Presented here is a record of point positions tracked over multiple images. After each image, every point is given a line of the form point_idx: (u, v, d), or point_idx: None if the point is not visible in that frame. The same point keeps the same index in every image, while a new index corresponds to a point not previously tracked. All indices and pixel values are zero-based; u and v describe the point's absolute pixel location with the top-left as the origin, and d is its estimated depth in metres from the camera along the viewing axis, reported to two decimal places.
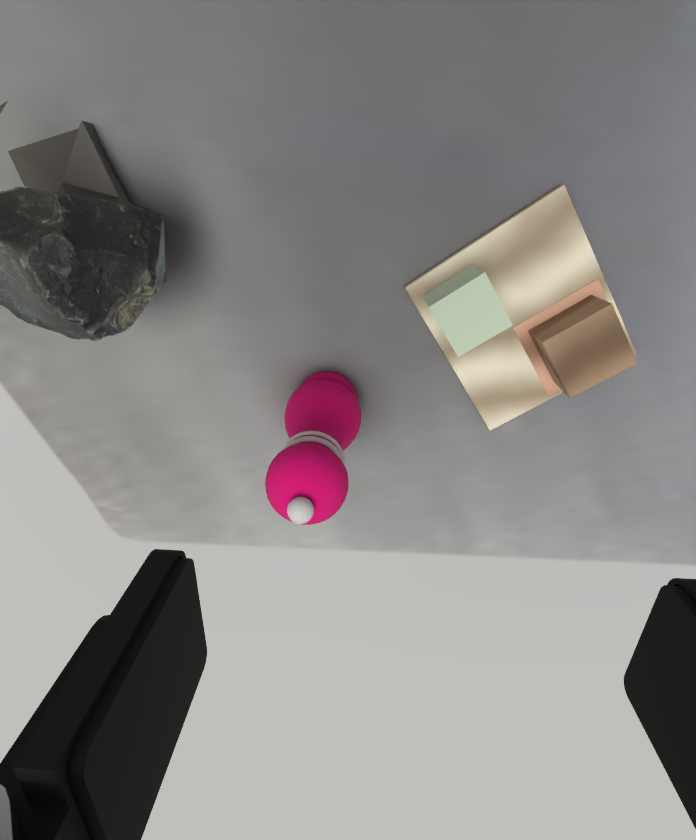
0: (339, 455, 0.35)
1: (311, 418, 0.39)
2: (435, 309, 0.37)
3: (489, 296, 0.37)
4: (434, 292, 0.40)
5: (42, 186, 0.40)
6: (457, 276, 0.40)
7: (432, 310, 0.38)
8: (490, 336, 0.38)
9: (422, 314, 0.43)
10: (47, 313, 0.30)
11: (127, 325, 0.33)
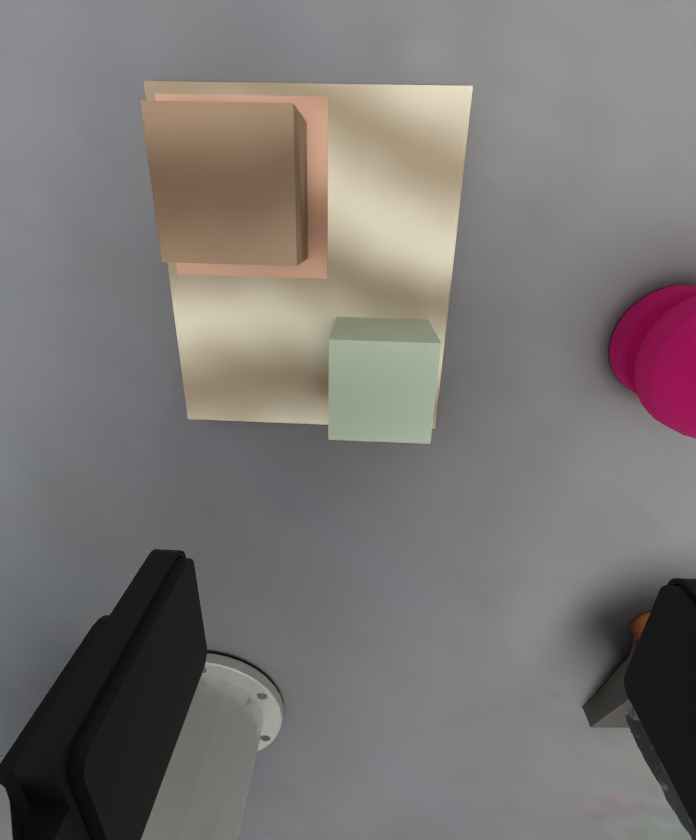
0: None
1: None
2: (423, 435, 0.22)
3: (341, 404, 0.22)
4: None
5: None
6: None
7: (428, 436, 0.22)
8: (371, 344, 0.21)
9: (437, 382, 0.26)
10: None
11: None
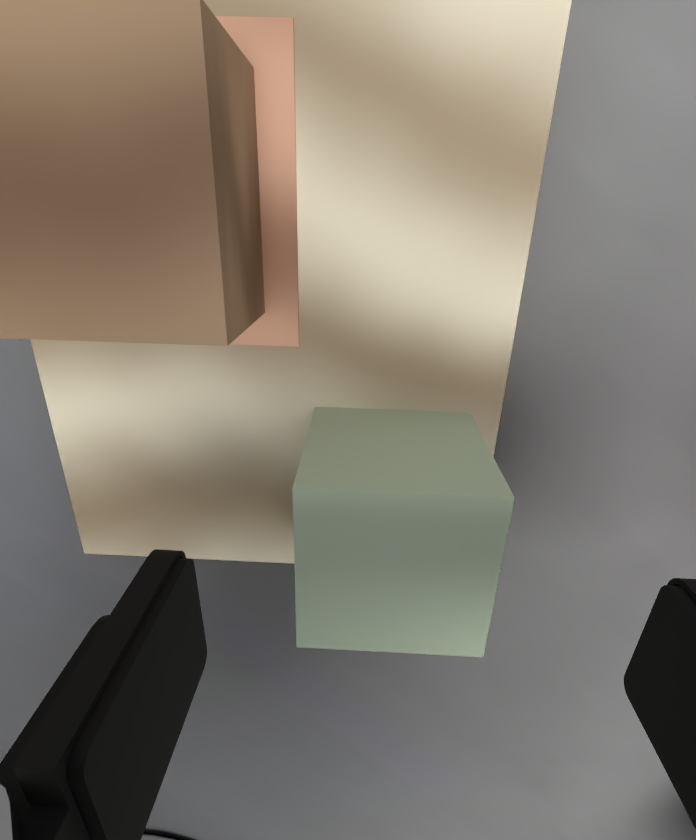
0: None
1: None
2: (471, 645, 0.12)
3: (318, 594, 0.12)
4: None
5: None
6: None
7: (480, 646, 0.12)
8: (377, 497, 0.10)
9: None
10: None
11: None
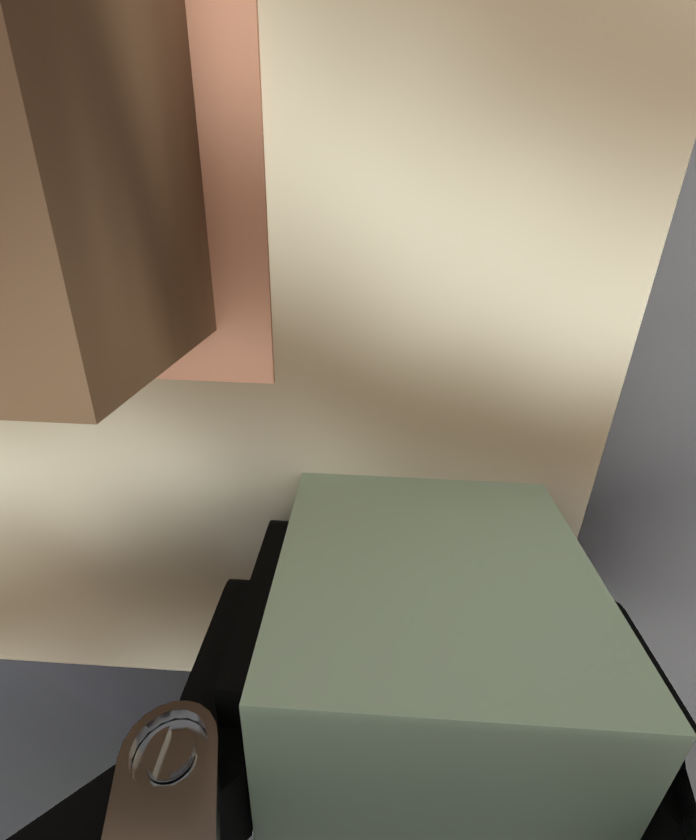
0: None
1: None
2: None
3: None
4: None
5: None
6: None
7: None
8: (411, 724, 0.05)
9: None
10: None
11: None
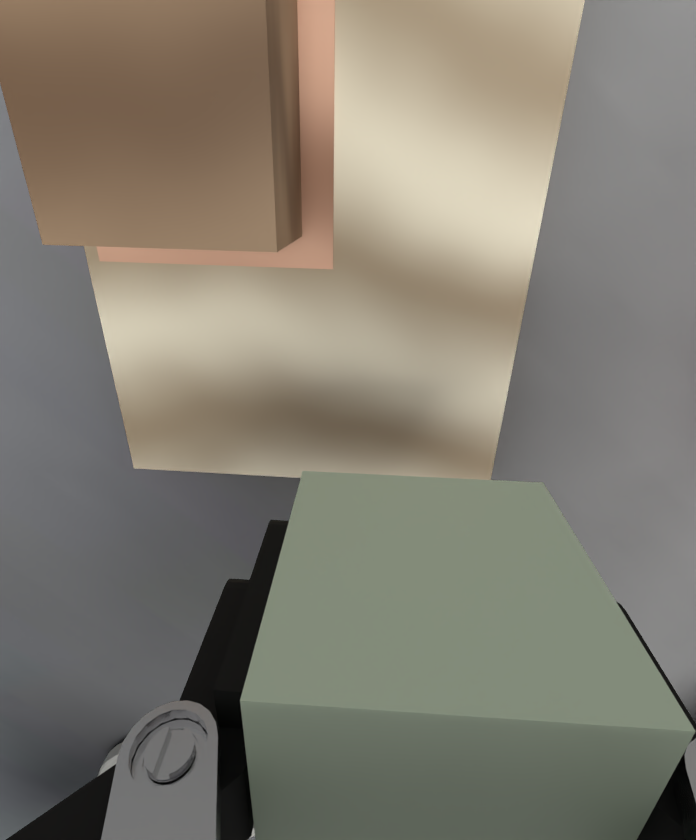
0: None
1: None
2: None
3: None
4: None
5: None
6: None
7: None
8: (411, 719, 0.05)
9: (497, 425, 0.18)
10: None
11: None
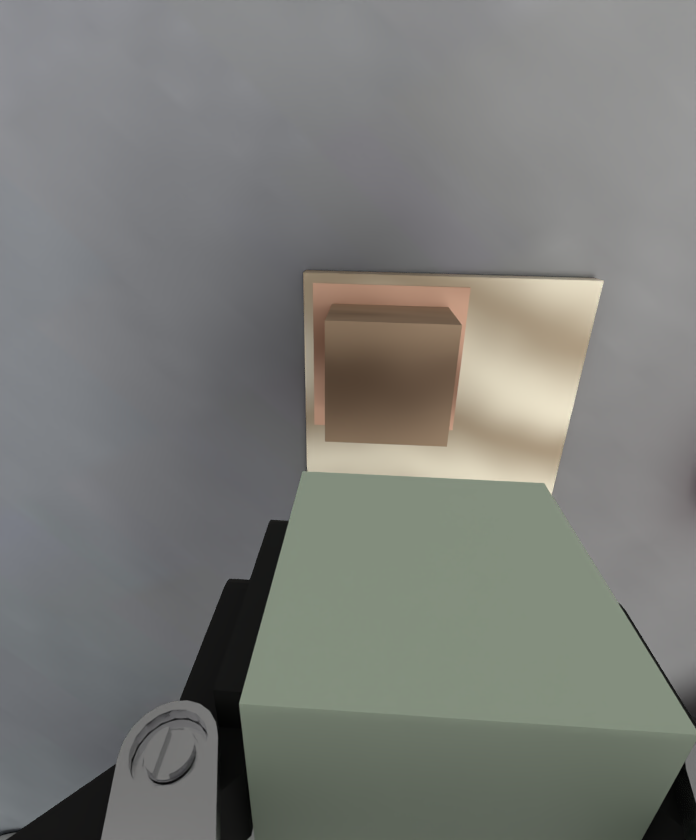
0: None
1: None
2: None
3: None
4: None
5: None
6: None
7: None
8: (412, 723, 0.05)
9: None
10: None
11: None
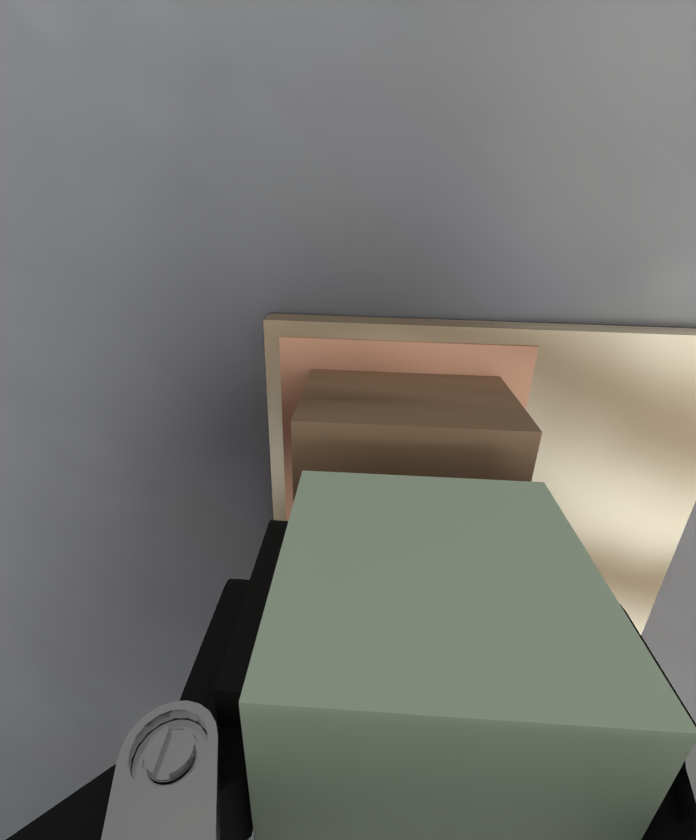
0: None
1: None
2: None
3: None
4: None
5: None
6: None
7: None
8: (412, 721, 0.05)
9: None
10: None
11: None
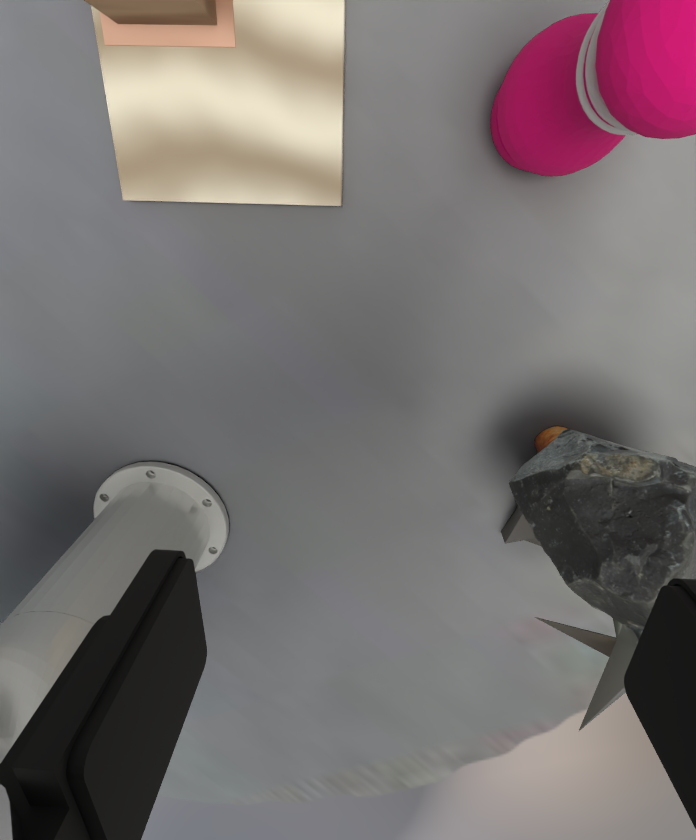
0: (595, 38, 0.17)
1: (578, 131, 0.22)
2: None
3: None
4: None
5: None
6: None
7: None
8: None
9: (339, 155, 0.30)
10: None
11: (645, 460, 0.25)
